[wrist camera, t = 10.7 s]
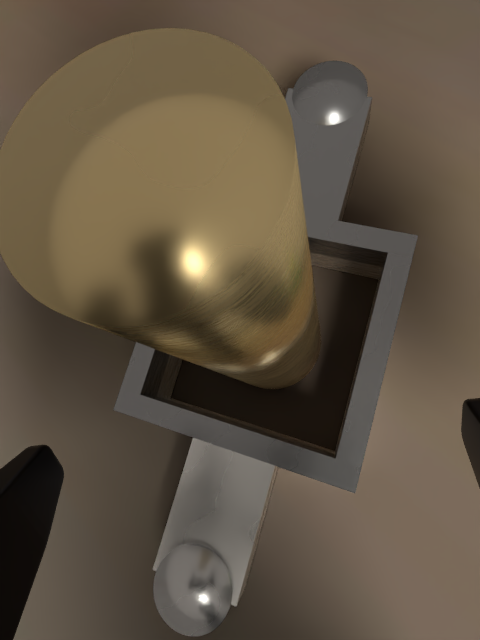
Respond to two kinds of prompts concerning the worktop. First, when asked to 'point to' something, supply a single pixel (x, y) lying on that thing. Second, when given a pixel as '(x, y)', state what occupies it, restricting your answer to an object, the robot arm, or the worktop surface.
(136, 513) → the worktop surface
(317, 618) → the worktop surface
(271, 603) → the worktop surface
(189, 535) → the ball-tipped frame bar
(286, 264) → the brass pin
